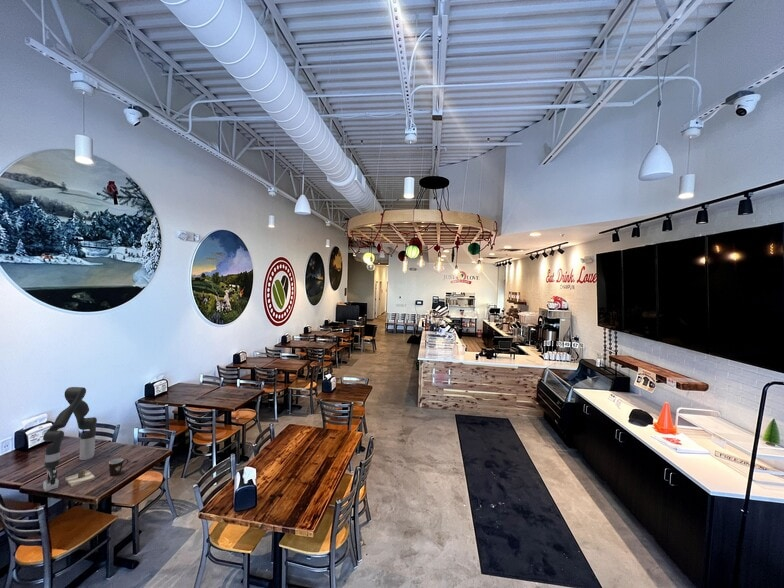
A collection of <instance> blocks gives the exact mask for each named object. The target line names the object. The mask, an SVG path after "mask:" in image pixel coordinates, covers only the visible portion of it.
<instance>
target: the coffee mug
mask: <svg viewBox="0 0 784 588" xmlns="http://www.w3.org/2000/svg"><path fill="white" fill-rule="evenodd" d="M125 461H126V463H125V464H124V462H125ZM128 463H129V459H128V458H127V459H124V458H114V459H112V460H109V461H108V467H109V468H108V470H109V477H112V478H113V477H117V476H119V475H121V473H122V469H123V468H125V466H126V465H127V464H128ZM123 464H124V465H123Z"/></svg>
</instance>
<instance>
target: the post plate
mask: <svg viewBox="0 0 784 588" xmlns="http://www.w3.org/2000/svg"><path fill="white" fill-rule="evenodd" d="M94 480H96V476H95V475H94V474H93V473H92V472H91V471H90V470H86V468H85V469H84V468H83V469H80V470H78V471H77V473H76V474H72V475H69V476H66V477H64V481H65V482H66V483H67V484H68V485H69V486H70V487H71V488H73V487H76V486H79V485H81V484H85V483H88V482H90V481H94Z"/></svg>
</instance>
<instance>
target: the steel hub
mask: <svg viewBox="0 0 784 588" xmlns="http://www.w3.org/2000/svg"><path fill="white" fill-rule="evenodd" d="M59 481H60V480H59V478H58V477H57V478H56V479H55V484H53V485H51V479H49V480H47V479H46V480H44V481H43V485H42V489H43V490H44V492H48V491H49V492H50V491H53V490H55V489H57V488H59V486H60V485H59V483H60V482H59Z"/></svg>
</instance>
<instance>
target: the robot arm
mask: <svg viewBox="0 0 784 588" xmlns="http://www.w3.org/2000/svg"><path fill="white" fill-rule="evenodd" d="M86 393H87V389H86V387H82V386H81V387H80V386H70V387H67V388H66V389H65V391H64V399H65V400H66V401H67V403H68V404H69V405H68V406H67V407H66V408H65V409H63V410H62V411H60V413H58V416H56V418H55V420H54V422H53V424H52V425H51V426H50V427H49V428H48V430H46V432H45V433H44V434H43V436H42V440H43V441H44V442H47V443H49V442H53V443H50V444H47V446H46V448H45V457H44V465H43V466H44V468H45V469H46V476H47V478H46V480H49V479H51V485H53V484H55V479H56V478H57V479H58V469H57V467H58V466H59V465H60V463H61V445H62V442H63V439H64V438H65V432H64V431H63V430H60V429H63V428H65V427H66V426H67V424H68V422H69V420H70V418H71V417H72V415H73V414H74V417H75V420H76V424H77V428H78V429H79V430H81V431H83V430H84V431H85V430H88V431H87V432H84V433H81V435H80V439H79V440H80V441H79V457H78V458H79V461H85V460H86V461H87V460H90V459H92V458H95V452H96V451H95V449H96V448H95V446H96V433H97V432H96V431H97V421H98V419H97V417H94V416H93V417H86V416H87V415H88V413H89V411H90V407H89V404H88V403H87V402H86V401H85V400H83V399H84V398H85V396H86Z"/></svg>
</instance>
